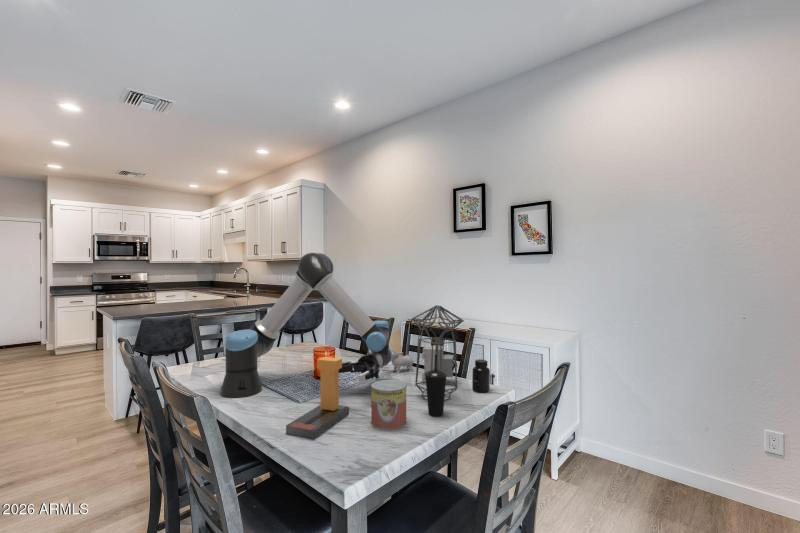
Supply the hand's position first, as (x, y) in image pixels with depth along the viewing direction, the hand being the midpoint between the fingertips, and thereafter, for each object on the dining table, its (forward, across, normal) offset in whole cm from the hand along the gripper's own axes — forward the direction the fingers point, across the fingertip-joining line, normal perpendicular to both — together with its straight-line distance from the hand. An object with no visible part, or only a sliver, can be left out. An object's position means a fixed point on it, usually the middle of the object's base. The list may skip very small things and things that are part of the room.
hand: (342, 377), depth 134 cm
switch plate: (+14, 0, -11) cm, 18 cm away
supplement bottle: (-37, -42, -11) cm, 57 cm away
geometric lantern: (-23, -28, -11) cm, 38 cm away
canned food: (+5, -20, -11) cm, 23 cm away
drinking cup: (-7, -32, -11) cm, 34 cm away
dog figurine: (-51, -1, -11) cm, 52 cm away
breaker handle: (+8, 0, -8) cm, 11 cm away
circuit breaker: (-41, -24, -11) cm, 48 cm away
